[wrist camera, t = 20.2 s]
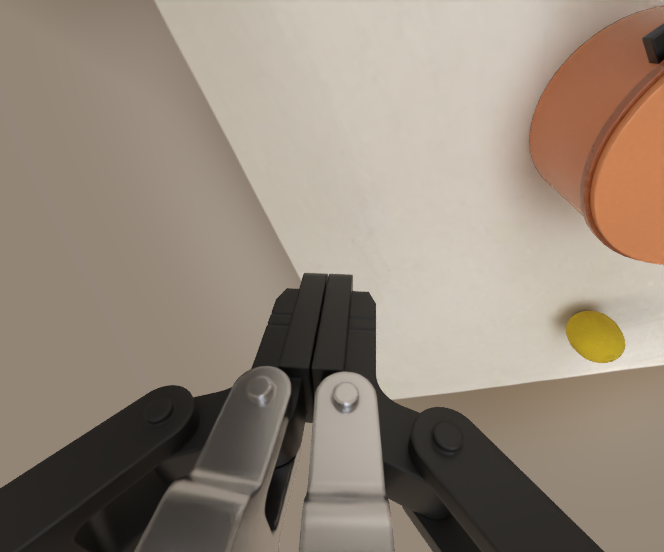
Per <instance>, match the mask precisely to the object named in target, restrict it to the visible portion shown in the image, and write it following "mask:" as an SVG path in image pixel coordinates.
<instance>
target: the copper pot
mask: <svg viewBox="0 0 664 552" xmlns="http://www.w3.org/2000/svg"><path fill="white" fill-rule="evenodd" d="M530 152H531V156H532V160H533V163H534V165H535V167H536V169H537V171H538V172H539V174H540V175H541V176H542V177H543V178H544V179H545V180H546V181H547V182H548V183H549V184H550V185H551V186H552V187H553V188H554V189H555V190H556V191H557V192H558V193H559V194H560V195H561V196H562V197H563V198H565V199H566V200H567V201H568V202H569V203H570V204H571V205H572V206H573V207H574V208H575V209H576V210H577V211H578V212H579V213H580V214H581V215H582V216H584V218H585V221H586V223H587V225H588V227H589V228H590V230H591V231H592V233H593V234H594V235H595V236H596V237H597V238H598V239H599V240H600V241H601V242H602V243H603V244H604V245H606V246H607V247H609V248H610V249H611V250H613V251H615V252H617V253H619V254H621V255H623V256H626V257H629V258H632V259H636V260H640V261H644V262H649V263H655V264H663V265H664V6H660V7H654V8H650V9H647V10H643V11H640V12H637V13H635V14H632V15H630V16H627V17H625V18H623V19H621V20H619V21H617V22H615V23H613V24H611V25H609V26H608V27H606V28H605V29H603V30H602V31H600V32H599V33H597V34H596V35H594V36H593V37H592V38H590V39H589V40H588V41H587V42H585V43H584V44H583V45H582V46H580V47H579V48H578V49H577V50H576V51H575V52H574V53H573V54H572V55H571V56H570V57H569V58H568V59H567V60H566V61H565V63H564V64H563V65H562V66H561V67H560V68H559V70H558V71H557V72H556V74H555V75H554V76H553V78H552V79H551V81H550V82H549V84H548V85H547V87H546V89H545V90H544V92H543V94H542V96H541V98H540V100H539V102H538V105H537V107H536V110H535V113H534V116H533V119H532V124H531V129H530Z"/></svg>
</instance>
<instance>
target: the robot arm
mask: <svg viewBox="0 0 664 552" xmlns="http://www.w3.org/2000/svg"><path fill="white" fill-rule="evenodd" d="M305 422H309V423H313V427H312V440H311V453H310V466H309V479H308V489H307V495H306V497H305V499H304V505H303V511H302V519H301V531H300V542H299V552H395V549H394V539H393V528H392V519H391V512H390V505H389V501H388V499H390V500H392V501H395V502H397V503H398V504H400V505H402V507H403V509H404V510H405V512H406V514H407V515H408V516H409V518H410V519H411V521H412V522H413V524H414V525H415V526H416V528H417V529H418V531H419V532H420V534H421V535H422V537H423V538H424V539H425V541H426V542H427V543H428V545H429V547H430V548H431V549H432V551H433V552H604V551H603V550H602V549H601V548H600V547H599V546H598V545H597V544H596V543H595V542H594V541H593V540H592V539H591V538H590V537H589V536H588V535H586V533H585V532H583V530H581V529H580V528H579V527H578V526H577V525H576V524H575V523H574V522H573V521H572V520H571V519H570V518H569V517H568V516H567V515H566V514H565V513H564V512H563V511H562V510H561V509H560V508H559V507H558V506H557V505H556V504H555V503H554V502H553V501H552V500H551V499H550V498H549V497H548V496H547V495H546V494H545V493H544V492H543V491H542V490H541V489H540V488H539V487H537V486H536V485H535V484H534V483H533V482H532V481H531V480H530V479H529V478H528V477H527V476H526V475H525V474H524V473H523V472H522V471H521V470H520V469H519V468H518V467H517V466H516V465H515V464H514V463H513V462H512V461H511V460H510V459H509V458H508V457H507V456H506V455H505V454H504V453H503V452H502V451H501V450H499V448H498V447H497V446H495V444H494V443H492V442H491V441H490V440H489V439H488V438H487V437H486V436H485V435H484V434H483V433H482V432H481V431H480V430H479V429H478V428H477V427H476V426H475V425H474V424H473V423H472V422H471V421H470V420H469V419H468V418H466V417H465V416H464V415H462V414H461V413H459V412H457V411H455V410H452V409H448V408H444V407H434V408H429V409H427V410H424V411H423V412H421V413H419V412H416V411H413V410H411V409H408V408H406V407H403V406H401V405H399V404H397V403H395V402H394V401H392V400H391V399H389V398H388V397H387V396H386V395H385V394H384V393H383V392H382V390H381V389H380V387H379V385H378V383H377V379H376V303H375V302H374V300H373V298H372V297H371V295H370V293H369V292H357V291H353V275H345V274H329V277H328V274H318V273H304V275H303V278H302V282H301V285H300V289H288V288H287V289H286V290H285V291H284V292H283V293H282V294H281V295H280V296H279V297H278V298H277V299H276V302H275V304H274V307H273V310H272V315H271V316H270V318H269V321H268V325H267V327H266V330H265V333H264V335H263V338H262V341H261V344H260V347H259V349H258V352H257V355H256V358H255V360H254V363H253V366H252V368H251V370H249V371H247V372H245V373H244V374H243V375H241V376H240V377H239V378H238V379H237V380H236V382H235V383H234V385H233V387H231V388H229V389H227V390H224V391H220V392H216V393H211V394H207V395H202V396H198V397H193V396H192V395H191V393H190V392H189V391H188V390H187V389H185V388H183V387H181V386H175V385H171V386H164V387H161V388H158V389H155V390H153V391H151V392H149V393H148V394H146V395H145V396H143V397H141V398H140V399H138V400H137V401H135V402H134V403H132V404H131V405H129V406H128V407H126V408H124V409H123V410H121V411H120V412H118V413H117V414H115V415H114V416H112V417H110V418H109V419H107V420H106V421H104V422H103V423H101V424H100V425H98V426H96V427H95V428H93V429H92V430H90V431H89V432H87V433H86V434H84V435H82V436H81V437H79V438H78V439H76V440H75V441H73V442H72V443H70V444H69V445H67V446H66V447H64V448H62V449H61V450H59V451H58V452H56V453H55V454H53V455H51V456H50V457H48V458H47V459H45V460H44V461H42V462H41V463H39V464H37V465H36V466H34V467H33V468H32V469H30V470H28V471H27V472H25V473H24V474H22V475H20V476H19V477H17V478H16V479H14V480H13V481H11V482H10V483H8V484H7V485H5V486H4V487H2V488H0V552H279V542H280V535H281V530H282V526H283V522H284V518H285V513H286V510H287V506H288V502H289V498H290V493H291V490H292V486H293V482H294V478H295V474H296V470H297V465H298V462H299V457H300V453H301V442H302V436H303V431H304V425H305Z"/></svg>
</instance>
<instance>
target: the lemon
mask: <svg viewBox="0 0 664 552" xmlns="http://www.w3.org/2000/svg"><path fill="white" fill-rule="evenodd" d="M566 335H567V338H568V340H569V342H570V344H571V345H572V347H573V348H574V349H575V350H576V351H577V352H578V353H579V354H580V355H581V356H582V357H584V358H586V359H588V360H590V361H593V362H597V363H608V362H612V361H614V360H616V359H618V358H619V357H620V356H621V355H622V353H623V352H624V349H625V339H624V336H623V333H622V332H621V330H620V328H619V327H618V325H617V324H616V323H615V322H614V321H613V320H612V319H611V318H609V317H608V316H606V315H605V314H602V313H600V312H596V311H582V312H579V313H577V314H575V315H573V316H572V317H571V318H570V319H569V321H568V323H567V325H566Z"/></svg>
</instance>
